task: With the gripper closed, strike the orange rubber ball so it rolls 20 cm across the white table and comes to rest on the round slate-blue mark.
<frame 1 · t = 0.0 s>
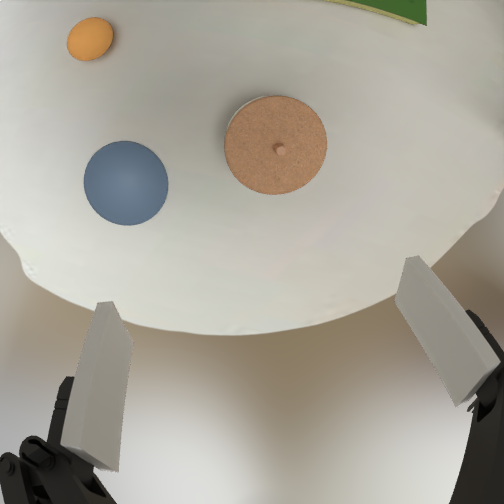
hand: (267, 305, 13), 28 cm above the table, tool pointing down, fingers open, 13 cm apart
lidded jar: (264, 132, 36), on the table
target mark: (124, 184, 36), on the table
ball: (89, 38, 23), on the table
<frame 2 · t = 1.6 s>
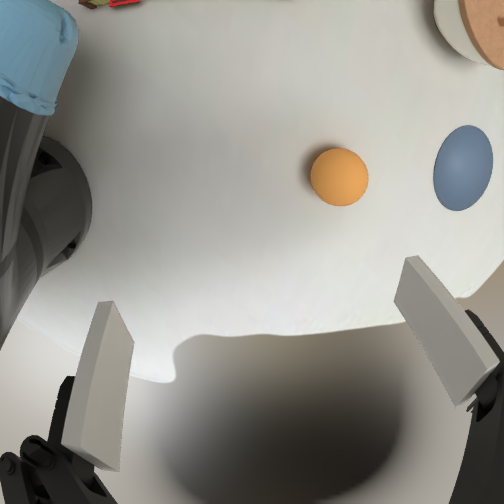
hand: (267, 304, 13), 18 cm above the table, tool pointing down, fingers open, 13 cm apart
lidded jar: (450, 21, 20), on the table
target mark: (465, 169, 30), on the table
ball: (339, 177, 27), on the table
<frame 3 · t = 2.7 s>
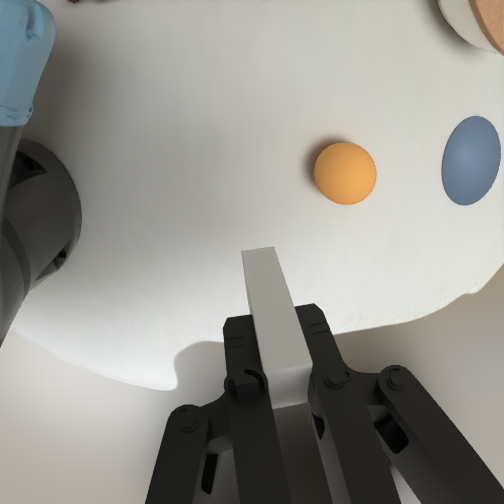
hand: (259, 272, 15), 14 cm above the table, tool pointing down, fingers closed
lidded jar: (455, 8, 17), on the table
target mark: (473, 162, 28), on the table
ball: (345, 173, 24), on the table
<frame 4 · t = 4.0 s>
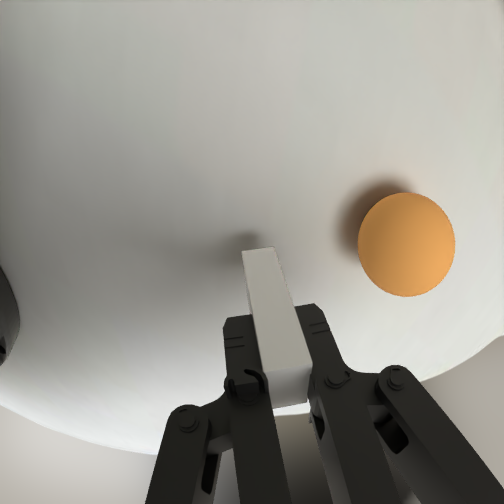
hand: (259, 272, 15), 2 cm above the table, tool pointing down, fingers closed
ball: (406, 244, 14), on the table
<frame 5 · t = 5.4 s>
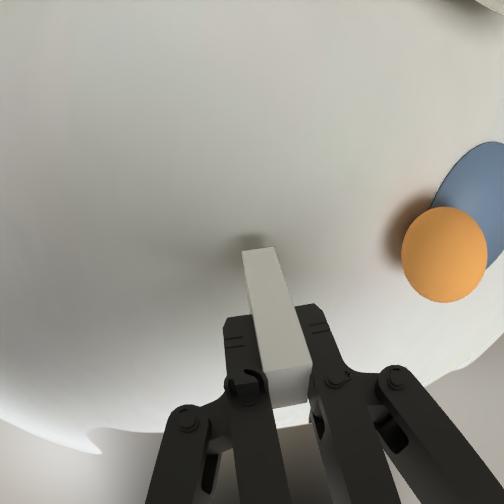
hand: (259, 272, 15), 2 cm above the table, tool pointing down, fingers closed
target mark: (481, 219, 17), on the table
ball: (444, 254, 15), on the table
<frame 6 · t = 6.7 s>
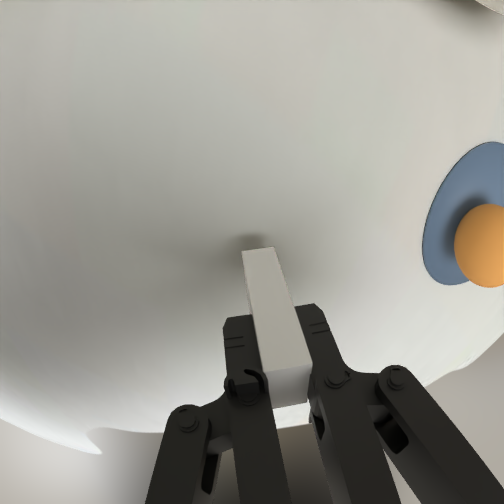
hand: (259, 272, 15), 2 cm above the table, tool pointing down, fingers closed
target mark: (481, 219, 17), on the table
ball: (490, 245, 15), on the table
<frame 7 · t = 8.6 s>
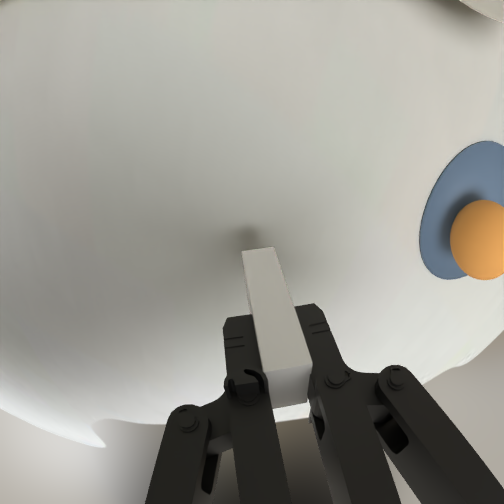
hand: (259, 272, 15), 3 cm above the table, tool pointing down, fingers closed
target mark: (477, 215, 18), on the table
ball: (484, 239, 16), on the table
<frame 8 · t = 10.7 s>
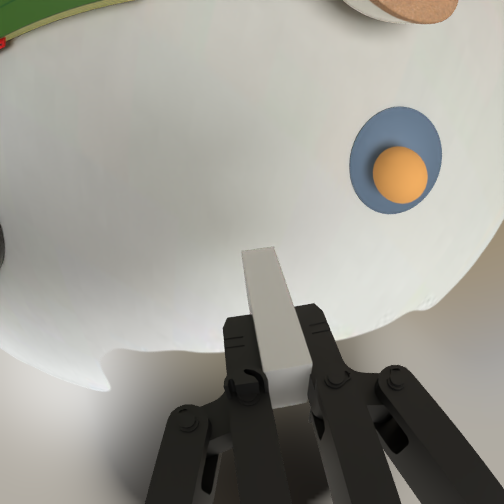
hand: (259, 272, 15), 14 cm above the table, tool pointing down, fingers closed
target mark: (399, 162, 27), on the table
ball: (400, 174, 25), on the table
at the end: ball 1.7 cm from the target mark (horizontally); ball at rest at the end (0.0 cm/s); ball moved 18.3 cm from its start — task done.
